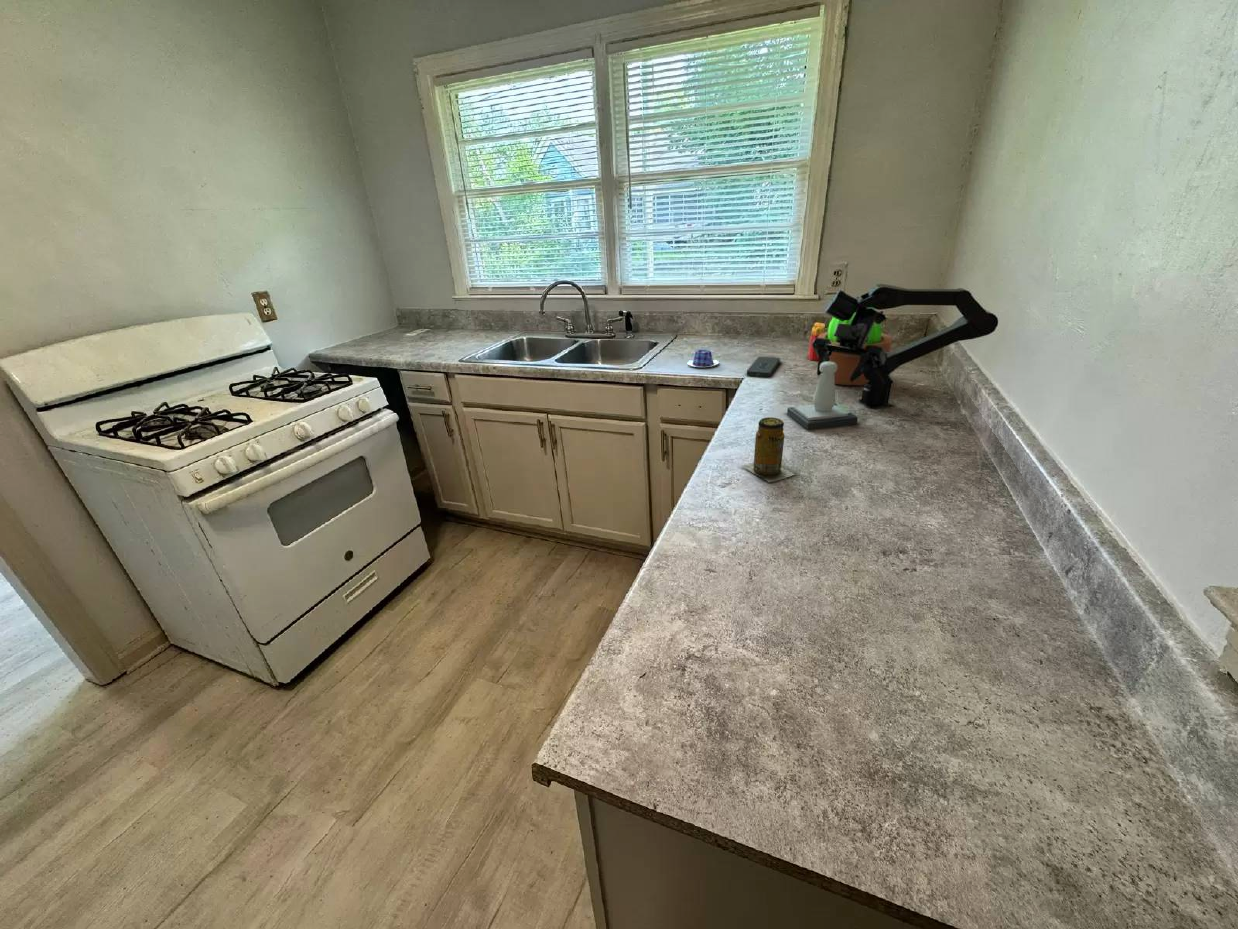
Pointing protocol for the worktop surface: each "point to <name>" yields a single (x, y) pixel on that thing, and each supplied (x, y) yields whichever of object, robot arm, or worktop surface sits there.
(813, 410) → the kitchen scale
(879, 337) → the potted cactus
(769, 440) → the condiment
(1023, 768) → the worktop surface
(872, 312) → the robot arm
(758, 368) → the smart home device
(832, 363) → the salt shaker
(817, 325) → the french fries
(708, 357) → the pudding
